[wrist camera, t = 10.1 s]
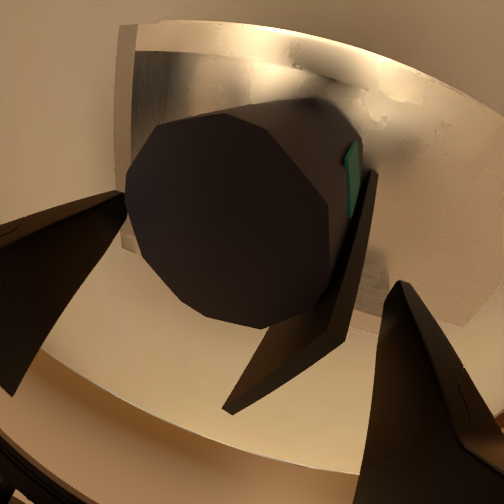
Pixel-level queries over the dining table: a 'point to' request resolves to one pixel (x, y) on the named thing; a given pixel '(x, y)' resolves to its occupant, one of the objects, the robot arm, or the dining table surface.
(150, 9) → the dining table surface
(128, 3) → the dining table surface
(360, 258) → the speaker
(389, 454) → the robot arm
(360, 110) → the beige shallow tray
